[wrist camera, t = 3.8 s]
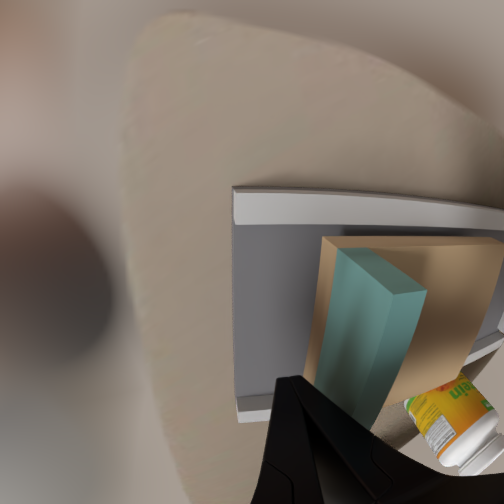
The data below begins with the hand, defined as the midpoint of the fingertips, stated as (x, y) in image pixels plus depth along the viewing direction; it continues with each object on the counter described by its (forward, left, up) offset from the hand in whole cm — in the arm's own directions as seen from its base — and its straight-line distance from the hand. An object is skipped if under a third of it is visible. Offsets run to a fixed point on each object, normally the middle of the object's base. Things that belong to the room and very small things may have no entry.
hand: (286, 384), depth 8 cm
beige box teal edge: (0, -6, -3) cm, 7 cm away
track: (0, -10, -4) cm, 11 cm away
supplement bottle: (-9, -14, -5) cm, 17 cm away
